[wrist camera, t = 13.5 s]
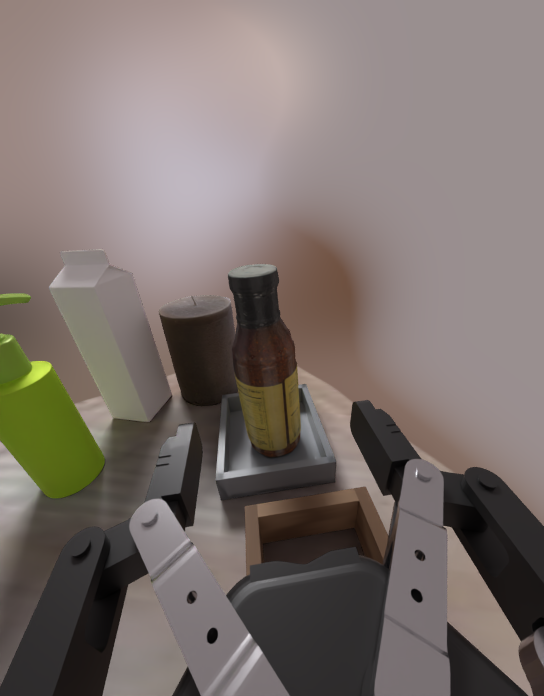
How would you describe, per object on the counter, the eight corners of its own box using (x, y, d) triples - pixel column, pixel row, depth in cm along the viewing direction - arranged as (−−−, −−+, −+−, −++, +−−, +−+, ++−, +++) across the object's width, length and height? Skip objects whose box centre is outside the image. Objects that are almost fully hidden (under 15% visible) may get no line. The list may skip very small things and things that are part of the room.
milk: (149, 423, 35) (80, 254, 25) (112, 418, 37) (30, 256, 26) (173, 394, 41) (124, 244, 30) (139, 391, 42) (80, 246, 31)
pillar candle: (195, 416, 36) (168, 314, 29) (173, 383, 43) (147, 296, 36) (254, 388, 41) (243, 295, 34) (225, 363, 48) (211, 282, 41)
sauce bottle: (283, 412, 34) (273, 256, 25) (312, 445, 30) (313, 267, 20) (238, 433, 32) (207, 268, 22) (260, 472, 27) (233, 283, 17)
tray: (221, 500, 25) (215, 480, 24) (225, 412, 36) (222, 395, 35) (334, 482, 26) (336, 461, 25) (306, 401, 37) (306, 384, 35)
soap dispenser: (122, 461, 30) (33, 294, 20) (51, 510, 26) (-106, 325, 16) (103, 438, 34) (19, 285, 24) (37, 477, 29) (-98, 309, 19)
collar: (260, 771, 13) (251, 764, 11) (250, 532, 23) (244, 506, 21) (447, 728, 14) (470, 714, 12) (361, 513, 23) (365, 486, 21)
